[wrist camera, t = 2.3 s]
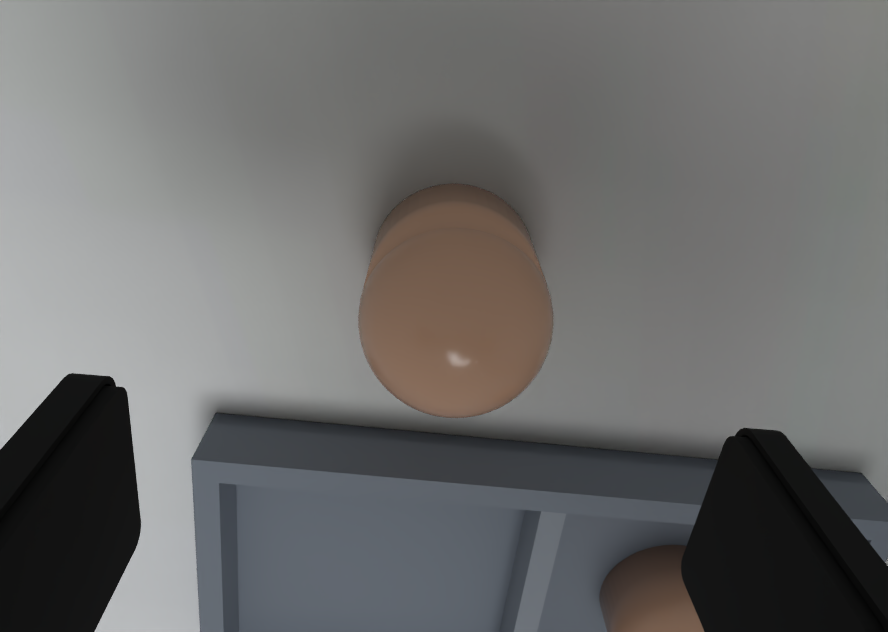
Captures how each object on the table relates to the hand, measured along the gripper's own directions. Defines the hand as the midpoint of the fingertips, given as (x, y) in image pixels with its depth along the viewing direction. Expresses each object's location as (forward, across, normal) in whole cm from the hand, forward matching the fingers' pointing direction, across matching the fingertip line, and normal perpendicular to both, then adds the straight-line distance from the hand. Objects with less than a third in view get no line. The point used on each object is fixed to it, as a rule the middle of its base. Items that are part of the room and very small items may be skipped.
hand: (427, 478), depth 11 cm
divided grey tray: (+10, -5, +13) cm, 17 cm away
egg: (+11, -1, +1) cm, 11 cm away
